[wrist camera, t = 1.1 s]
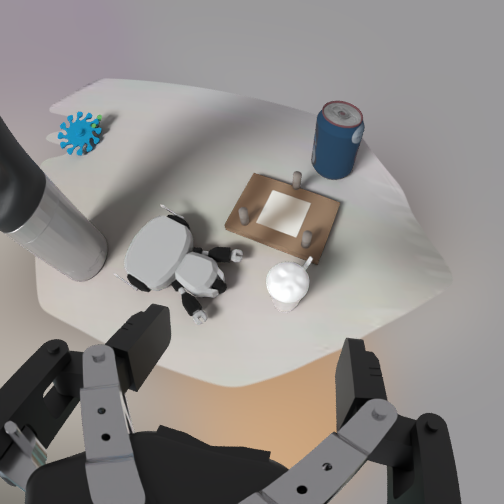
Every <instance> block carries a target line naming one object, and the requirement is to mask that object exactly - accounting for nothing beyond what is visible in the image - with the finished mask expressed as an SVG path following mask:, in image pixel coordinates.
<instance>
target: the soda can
mask: <svg viewBox="0 0 504 504" xmlns="http://www.w3.org/2000/svg"><path fill="white" fill-rule="evenodd" d="M363 132H364V123H363V115H362V113H361V111H360V110H359V109H358V108H357V107H356V106H354V105H352V104H350V103H347V102H343V101H331V102H329V103H326V104H325V105H324V107H323V109H322V110H321V111H320V112H319V114H318V116H317V122H316V129H315V137H314V144H313V151H312V159H311V160H312V165H313V167H314V168H315V170H316V171H317V172H318V173H319V174H320V175H321V176H322V177H324V178H327V179H331V180H337V179H341V178H343V177H345V176H347V175H348V174H349V173H350V172H351V171H352V168H353V165H354V162H355V159H356V155H357V152H358V149H359V146H360V142H361V139H362V135H363Z"/></svg>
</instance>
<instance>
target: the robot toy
mask: <svg viewBox="0 0 504 504" xmlns="http://www.w3.org/2000/svg"><path fill="white" fill-rule="evenodd" d="M160 206H161V207H162V208H165V209H166V210H168V211H169V212H171V213H173V214H174V215H168V216H158V217H156V218H153V219H152V220H150V221H149V222H148V223H147V224H146V225H144V226H143V228H142V229H141V230H140V231H139V232H138V233H137V234H136V235H135V236H134V238H133V240H132V242H131V244H130V246H129V248H128V250H127V253H126V256H125V260H124V268H125V270H126V272H127V273H128V276H127V278H128V280H129V281H130V283H131V284H132V285H133V286H132V285H131V284H129V283H128V282H126V281H125V280H124V279H122V278H121V277H119V276H118V275H117V274H115V273H113V274H114V275H115V276H116V277H118V278H120V279H121V280H123V281H124V282H125V283H127V284H128V285H130V286H131V287H133V289H135V290H136V291H137V290H138V289H139V290H141V291H145V292H149V291H151V290H156V291H160V290H162V289H164V288H166V287H168V286H169V285H170V284H172V286H173V288H174V289H175V291H179V292H180V294H181V295H182V303H183V306H184V308H185V309H186V311H187V312H188V314H189V315H190V316H193V321H194V322H195V323H196V324H199V325H200V324H202V322H201V321H200V320H199V318H200V317H202V318H203V320H204V322H205V321H206V320H207V315H206V313H205V312H204V311H202V307H201V305H200V304H199V302H198V301H197V299H196V298H195V297H194V296H196V297H205V296H206V297H213V298H214V297H216V296H217V295H219V293H223V292H225V290H226V288H227V285H226V284H225V277H224V273H223V272H222V271H221V270H220V269H219V268H218V266H217V263H216V262H227V263H230V260H232V261H234V262H240V261H241V260H242V256H236V255H243V252H242V251H241V250H238V249H235V250H233V251H231V250H230V248H226V247H216V248H214V249H212V250H210V251H203V249H202V248H194V249H193V236H192V234H191V232H190V228H189V225H188V223H187V222H186V221H185V220H184V217H183V216H179V215H178V214H176V213H174V212H173V211H171V210H170V209H168V208H166V207H165V206H164V205H160ZM175 215H176V216H175ZM192 249H193V252H192ZM214 260H215V261H216V262H215V261H214ZM175 279H176V280H175ZM219 279H220V280H219ZM184 288H185V289H186V290H187V291H189V292H190V293H191V294H193V295H194V296H192V295H191V294H189V293H187V292H186V291H185V290H184Z"/></svg>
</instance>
